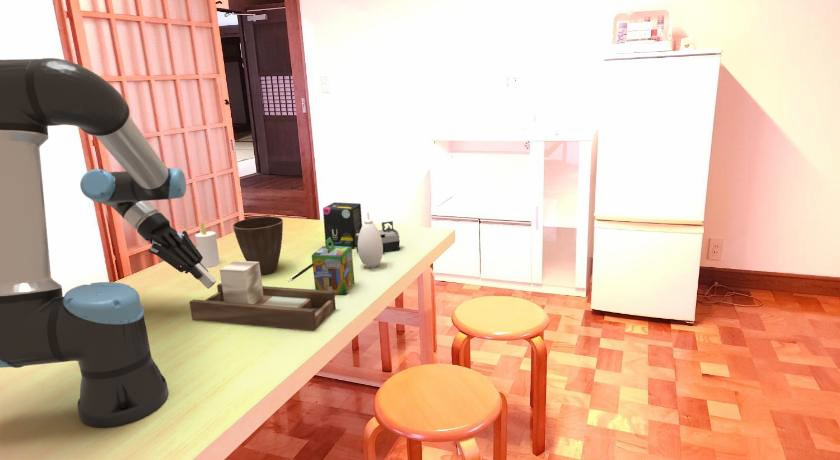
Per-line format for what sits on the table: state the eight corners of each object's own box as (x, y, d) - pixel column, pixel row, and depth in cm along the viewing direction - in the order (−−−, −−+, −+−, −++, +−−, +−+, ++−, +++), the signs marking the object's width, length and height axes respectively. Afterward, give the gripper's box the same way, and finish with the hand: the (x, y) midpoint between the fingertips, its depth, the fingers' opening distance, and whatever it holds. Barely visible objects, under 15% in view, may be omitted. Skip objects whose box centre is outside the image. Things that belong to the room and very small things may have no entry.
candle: (224, 261, 186) (217, 218, 182) (212, 268, 180) (205, 223, 176) (208, 260, 187) (201, 217, 183) (195, 267, 181) (188, 223, 177)
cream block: (249, 308, 139) (244, 271, 136) (224, 306, 141) (219, 269, 138) (263, 297, 145) (259, 261, 143) (240, 296, 147) (235, 260, 144)
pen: (287, 282, 165) (287, 279, 164) (317, 262, 182) (317, 258, 182) (290, 283, 164) (289, 279, 164) (319, 262, 182) (319, 259, 182)
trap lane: (313, 330, 132) (311, 311, 130) (192, 319, 141) (189, 301, 139) (335, 308, 144) (334, 291, 142) (222, 299, 153) (220, 283, 151)
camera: (360, 258, 184) (358, 229, 181) (355, 252, 190) (353, 224, 188) (403, 252, 188) (401, 223, 185) (396, 246, 195) (395, 218, 192)
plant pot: (230, 278, 170) (222, 228, 165) (255, 262, 184) (249, 215, 179) (274, 280, 166) (268, 229, 162) (296, 264, 180) (291, 216, 176)
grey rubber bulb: (387, 268, 172) (383, 212, 167) (363, 272, 170) (359, 216, 165) (379, 261, 179) (376, 207, 174) (356, 265, 177) (352, 210, 172)
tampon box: (325, 248, 196) (321, 208, 192) (336, 240, 204) (333, 202, 200) (353, 249, 193) (350, 208, 189) (363, 241, 201) (361, 202, 197)
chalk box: (345, 295, 153) (341, 244, 149) (314, 294, 154) (309, 243, 150) (355, 283, 161) (352, 234, 157) (326, 282, 163) (321, 234, 159)
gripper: (158, 224, 152) (219, 284, 152) (122, 237, 140) (189, 303, 140) (172, 205, 149) (234, 267, 149) (136, 218, 137) (203, 285, 137)
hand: (212, 284), depth 144 cm, fingers closed
